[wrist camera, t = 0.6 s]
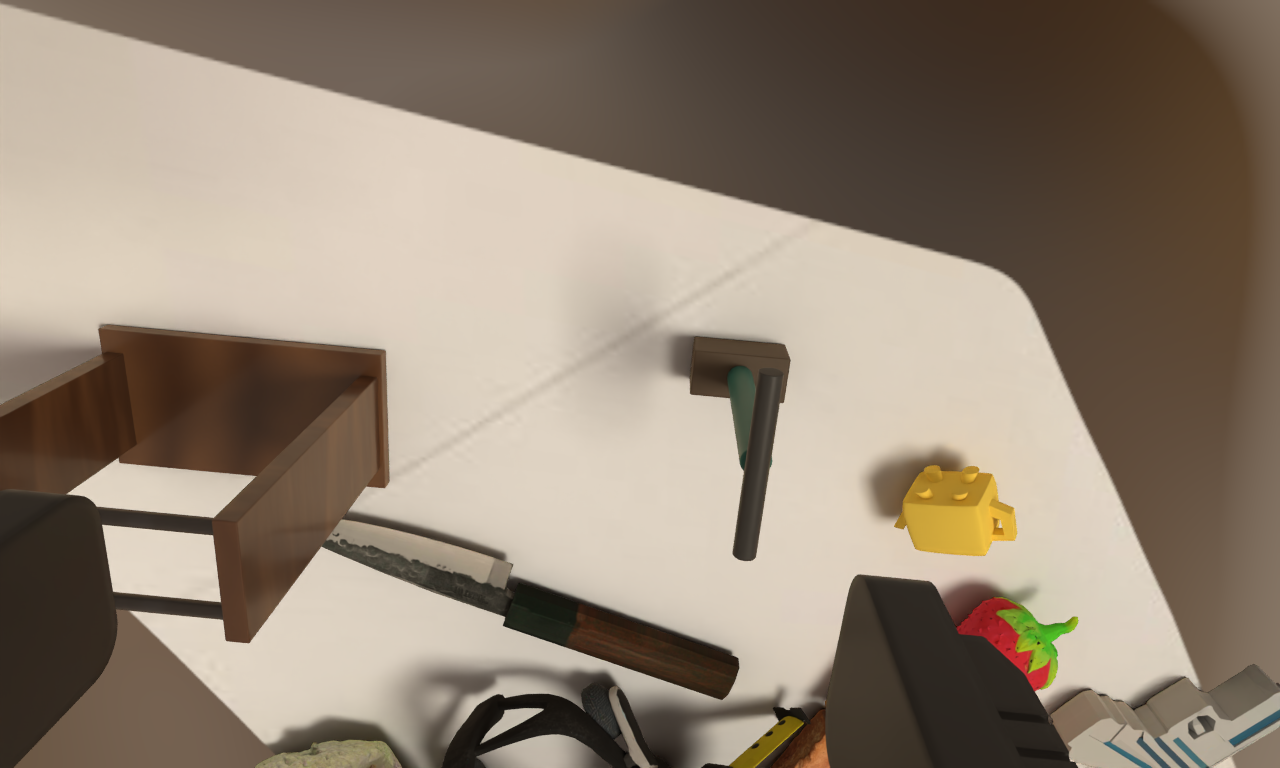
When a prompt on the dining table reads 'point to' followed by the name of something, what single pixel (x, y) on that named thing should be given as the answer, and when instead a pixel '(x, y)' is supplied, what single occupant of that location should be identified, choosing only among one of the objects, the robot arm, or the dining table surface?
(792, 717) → the tape measure
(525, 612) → the kitchen knife
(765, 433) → the green t-shaped stand
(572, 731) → the virtual reality headset
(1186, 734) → the toy gun
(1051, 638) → the strawberry
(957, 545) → the yellow studded block
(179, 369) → the wooden rack
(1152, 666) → the dining table surface
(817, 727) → the wooden plank
